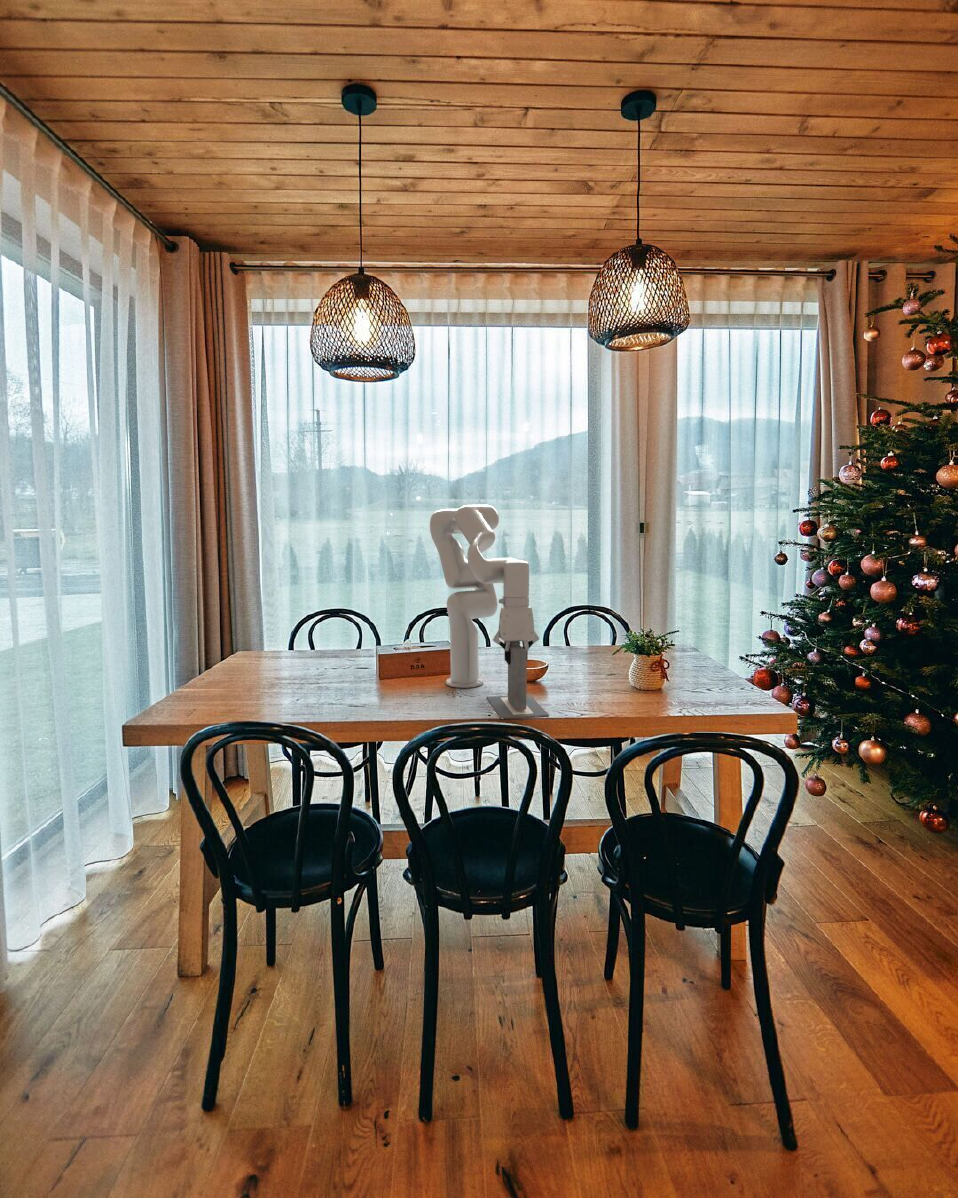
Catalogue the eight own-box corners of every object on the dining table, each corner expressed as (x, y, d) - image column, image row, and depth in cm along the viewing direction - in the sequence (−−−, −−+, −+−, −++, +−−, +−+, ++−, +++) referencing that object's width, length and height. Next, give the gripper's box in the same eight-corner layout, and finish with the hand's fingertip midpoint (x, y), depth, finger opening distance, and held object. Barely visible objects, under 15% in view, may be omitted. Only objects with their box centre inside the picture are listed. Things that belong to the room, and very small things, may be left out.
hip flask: (527, 710, 200) (527, 642, 197) (513, 710, 199) (513, 642, 196) (517, 695, 215) (517, 632, 213) (504, 695, 215) (504, 632, 212)
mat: (486, 698, 217) (486, 696, 217) (529, 695, 219) (529, 694, 219) (501, 719, 195) (501, 717, 195) (548, 716, 198) (548, 714, 198)
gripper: (490, 605, 198) (490, 667, 201) (547, 603, 201) (546, 664, 203) (485, 601, 205) (486, 661, 208) (540, 599, 208) (539, 659, 211)
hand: (516, 662), depth 206 cm, fingers closed on hip flask, 4 cm apart
